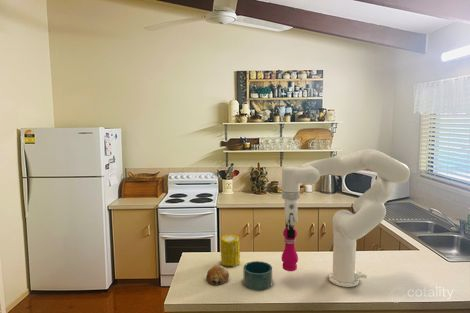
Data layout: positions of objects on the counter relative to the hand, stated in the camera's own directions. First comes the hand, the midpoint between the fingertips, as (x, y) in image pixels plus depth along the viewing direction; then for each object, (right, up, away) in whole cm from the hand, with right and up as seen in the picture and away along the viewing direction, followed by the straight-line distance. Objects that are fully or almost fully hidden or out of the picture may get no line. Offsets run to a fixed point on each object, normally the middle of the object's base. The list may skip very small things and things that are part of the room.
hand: (290, 235), depth 139 cm
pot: (-14, -21, +1) cm, 26 cm away
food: (-26, -20, +21) cm, 39 cm away
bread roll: (-32, -21, +4) cm, 39 cm away
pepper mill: (0, -15, +2) cm, 15 cm away
